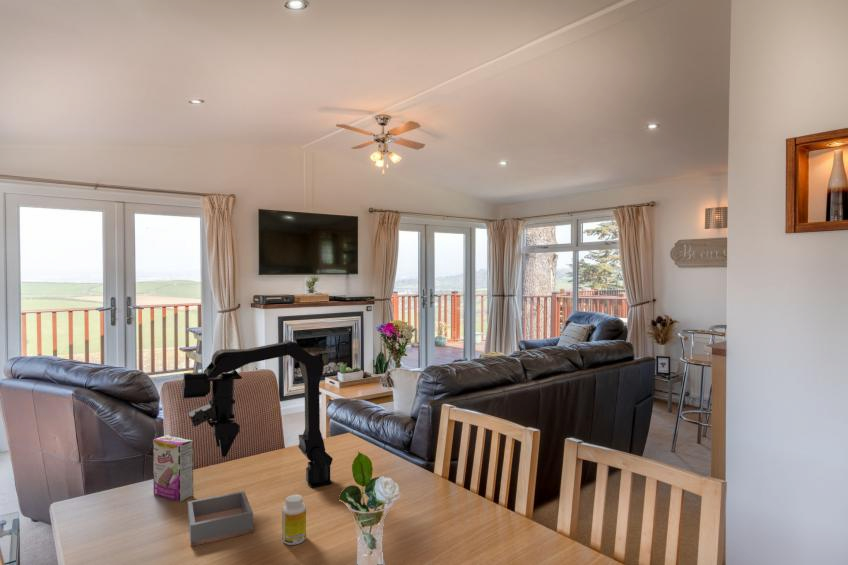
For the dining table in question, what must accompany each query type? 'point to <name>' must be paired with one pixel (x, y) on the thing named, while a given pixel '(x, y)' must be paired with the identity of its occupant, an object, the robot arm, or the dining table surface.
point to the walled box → (219, 518)
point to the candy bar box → (173, 467)
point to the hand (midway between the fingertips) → (221, 451)
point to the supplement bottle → (294, 520)
